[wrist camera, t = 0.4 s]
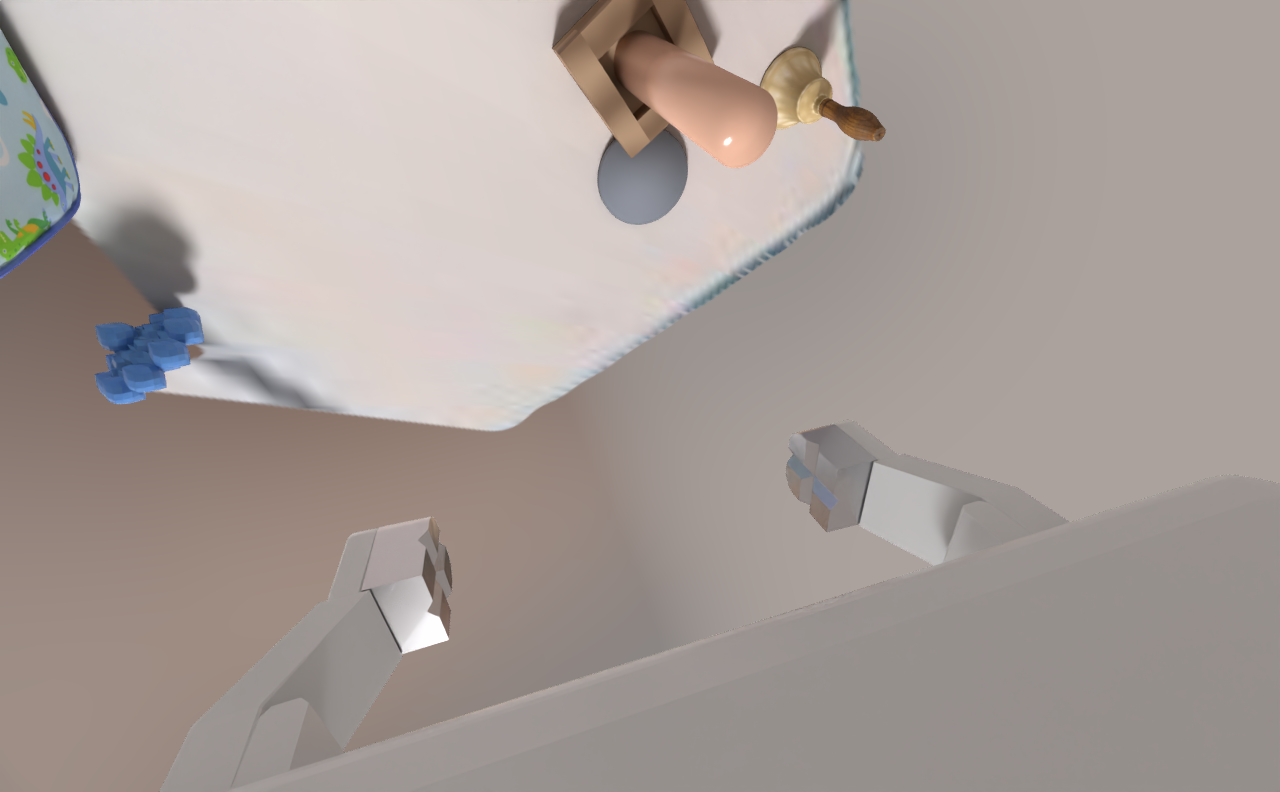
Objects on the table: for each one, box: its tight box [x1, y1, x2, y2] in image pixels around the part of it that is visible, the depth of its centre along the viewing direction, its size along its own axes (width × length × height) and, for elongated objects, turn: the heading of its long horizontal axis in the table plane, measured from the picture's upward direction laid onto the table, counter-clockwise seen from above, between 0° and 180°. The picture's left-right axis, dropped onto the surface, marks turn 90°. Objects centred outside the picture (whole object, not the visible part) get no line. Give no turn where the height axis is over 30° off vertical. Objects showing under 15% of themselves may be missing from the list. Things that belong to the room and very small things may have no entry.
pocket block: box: [552, 0, 715, 158], centre depth 48 cm, size 12×12×3 cm
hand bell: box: [760, 47, 886, 141], centre depth 51 cm, size 8×8×16 cm
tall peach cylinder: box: [613, 30, 778, 168], centre depth 41 cm, size 5×5×22 cm
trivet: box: [598, 130, 688, 225], centre depth 57 cm, size 11×11×1 cm
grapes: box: [95, 307, 204, 404], centre depth 46 cm, size 12×7×12 cm, turn 117°
